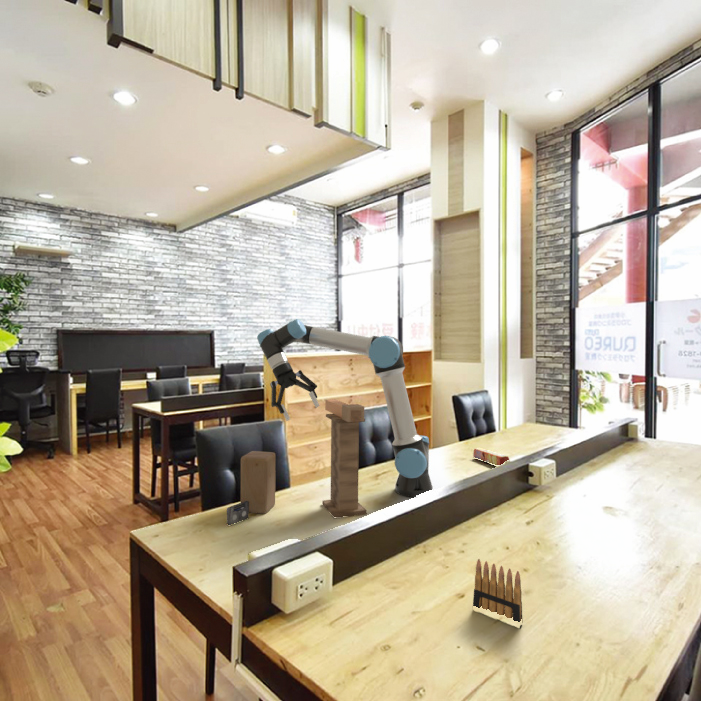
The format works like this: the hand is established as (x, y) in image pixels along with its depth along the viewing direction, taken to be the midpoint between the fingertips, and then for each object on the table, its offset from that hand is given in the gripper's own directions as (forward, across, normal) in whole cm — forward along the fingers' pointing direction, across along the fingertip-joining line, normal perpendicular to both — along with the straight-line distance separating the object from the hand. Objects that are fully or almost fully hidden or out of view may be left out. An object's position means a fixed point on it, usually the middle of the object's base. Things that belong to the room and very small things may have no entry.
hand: (303, 413), depth 180 cm
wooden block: (+24, +30, -7) cm, 39 cm away
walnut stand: (+39, +5, +6) cm, 39 cm away
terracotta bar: (+8, -7, +16) cm, 19 cm away
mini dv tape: (+25, +39, +2) cm, 46 cm away
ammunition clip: (+67, +11, +73) cm, 100 cm away
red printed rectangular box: (+61, -87, -19) cm, 108 cm away
